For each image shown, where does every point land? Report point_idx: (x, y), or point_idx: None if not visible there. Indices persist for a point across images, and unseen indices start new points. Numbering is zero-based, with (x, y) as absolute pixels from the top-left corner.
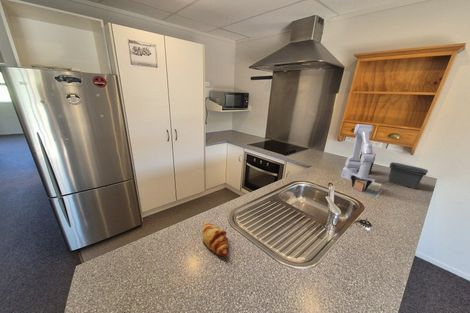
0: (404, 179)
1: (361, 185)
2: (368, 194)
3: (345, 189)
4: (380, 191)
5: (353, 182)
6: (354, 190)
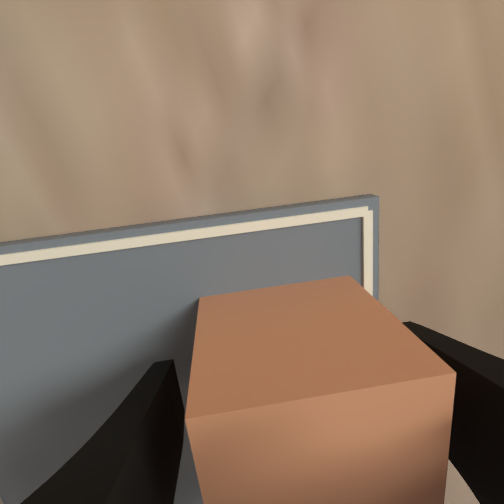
0: None
1: (244, 383)
2: (57, 293)
3: (452, 121)
4: None
5: (485, 373)
6: (310, 211)
